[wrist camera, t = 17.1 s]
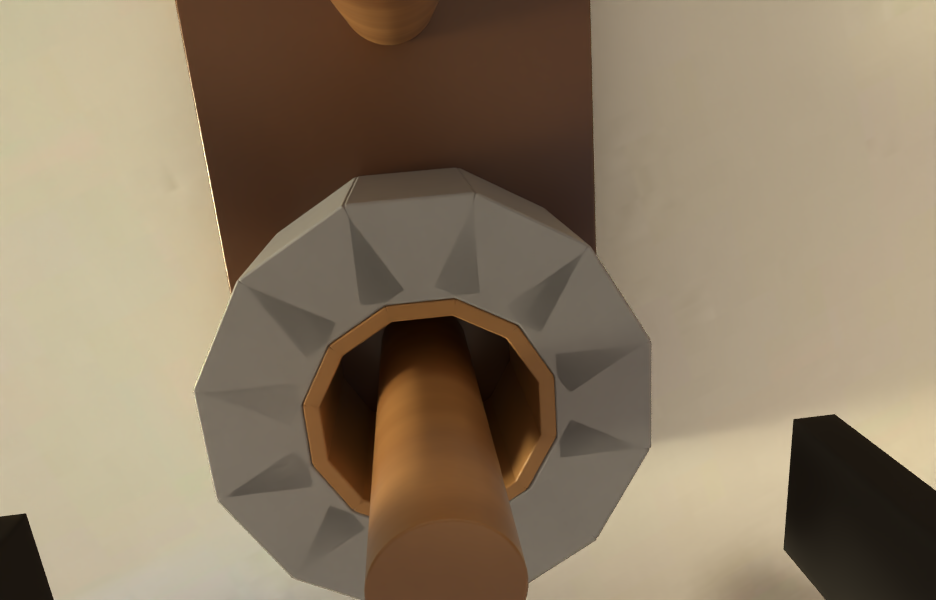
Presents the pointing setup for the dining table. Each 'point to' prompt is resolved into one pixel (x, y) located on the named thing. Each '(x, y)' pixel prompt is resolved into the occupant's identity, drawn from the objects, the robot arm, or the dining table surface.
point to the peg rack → (392, 151)
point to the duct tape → (408, 298)
